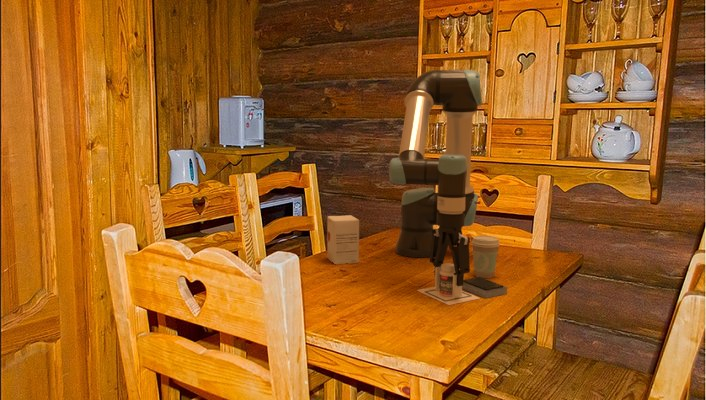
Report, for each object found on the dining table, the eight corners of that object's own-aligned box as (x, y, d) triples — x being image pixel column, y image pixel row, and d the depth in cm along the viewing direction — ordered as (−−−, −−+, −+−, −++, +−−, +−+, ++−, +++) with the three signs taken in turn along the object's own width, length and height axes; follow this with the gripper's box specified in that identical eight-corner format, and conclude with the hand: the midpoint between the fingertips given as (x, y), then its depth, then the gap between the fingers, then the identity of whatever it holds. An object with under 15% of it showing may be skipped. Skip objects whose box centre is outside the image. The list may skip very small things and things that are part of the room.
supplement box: (326, 258, 194) (326, 215, 191) (351, 256, 197) (351, 214, 194) (333, 265, 185) (333, 220, 183) (359, 262, 188) (359, 219, 186)
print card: (416, 290, 159) (416, 289, 159) (447, 285, 164) (447, 284, 164) (448, 305, 147) (448, 304, 147) (480, 298, 152) (480, 297, 152)
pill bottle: (438, 296, 154) (439, 266, 152) (439, 290, 158) (440, 262, 157) (455, 297, 153) (457, 267, 151) (456, 292, 157) (457, 263, 156)
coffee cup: (465, 273, 177) (466, 236, 175) (488, 270, 180) (489, 234, 178) (479, 280, 169) (481, 242, 167) (503, 278, 172) (505, 240, 170)
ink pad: (458, 287, 162) (459, 279, 162) (479, 283, 166) (479, 276, 166) (485, 298, 153) (485, 290, 152) (506, 293, 157) (507, 286, 156)
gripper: (417, 207, 159) (415, 285, 162) (464, 218, 142) (461, 305, 145) (438, 205, 162) (436, 281, 166) (486, 216, 145) (483, 300, 149)
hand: (448, 292), depth 155 cm, fingers open, 7 cm apart
